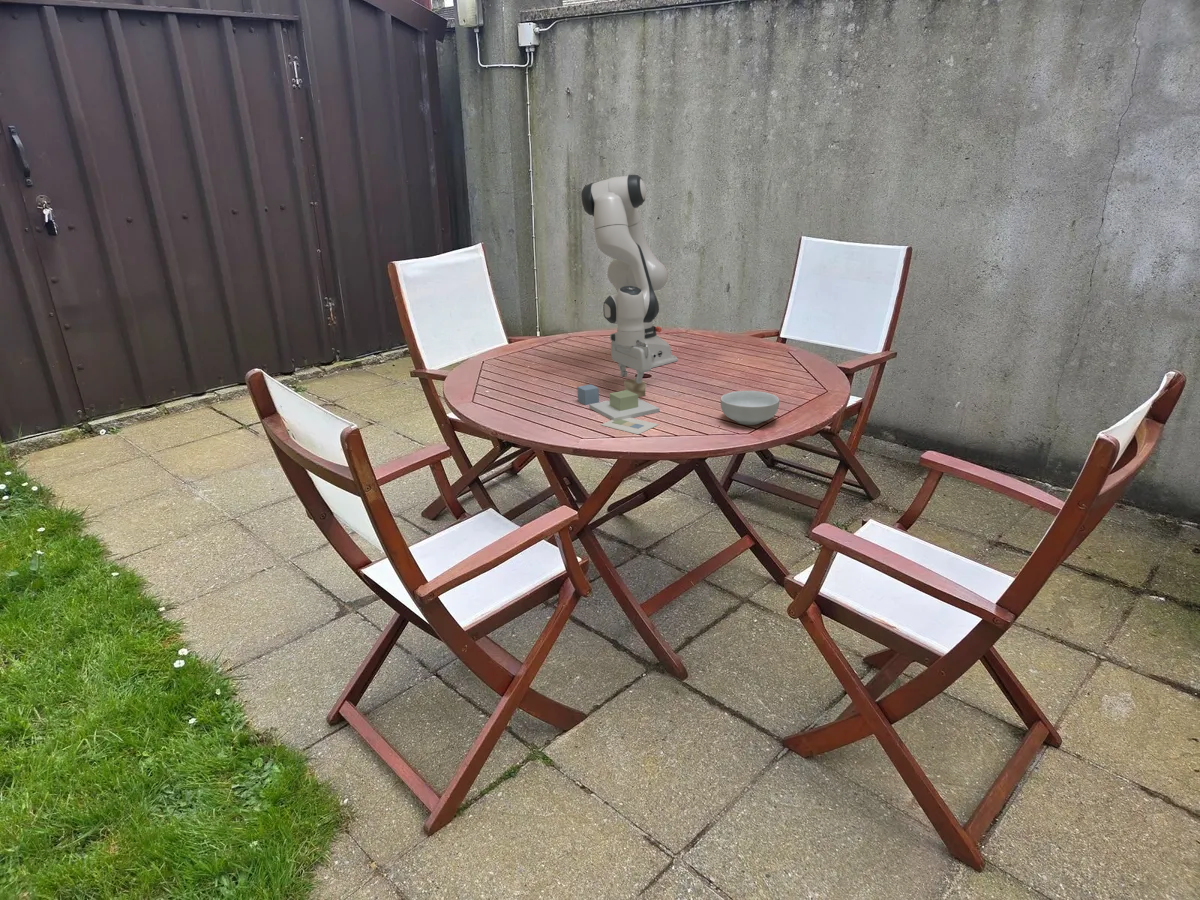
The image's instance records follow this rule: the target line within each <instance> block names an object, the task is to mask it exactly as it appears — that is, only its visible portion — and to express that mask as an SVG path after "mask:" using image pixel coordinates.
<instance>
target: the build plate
mask: <svg viewBox="0 0 1200 900" xmlns="http://www.w3.org/2000/svg"><path fill="white" fill-rule="evenodd" d="M608 398H609V400H604V401H599V402H598V403H594V404H589V405H588V407H589V409H590V410H593V411H594V412H596V413H598V414H599V415H601V416H603V417H605V418H607V419H608V420H614V421H617V420H623V419H627V418H634V419H635V418H639V417H643V416H647V415H652V414H656V413H660V407H659V406H655V405H653V404H651V403H649V402H648V401H645V400H643V399H640V398H639V397H638V395H637V394H635V393H633V392H631V391H628V390H625V389H624V390H620V391H614V392H611V393H609V397H608Z"/></svg>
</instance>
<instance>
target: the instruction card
mask: <svg viewBox="0 0 1200 900" xmlns="http://www.w3.org/2000/svg"><path fill="white" fill-rule="evenodd" d="M600 426H603V427H606V428H610V429H615V430H617V431H622V432H626V433H629V434H634V435H640V434H642V433H644V432H647V431H649V430H651V429H653V428H655V427H658V426H659V423H655V422H650V421H646V420H643V419H638V418H635V417H634V418H627V419H623V420H617V421H614V420H611V419H609V420H608V421H606V422H604V423H602V424H601V423H600Z"/></svg>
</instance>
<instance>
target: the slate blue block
mask: <svg viewBox="0 0 1200 900" xmlns="http://www.w3.org/2000/svg"><path fill="white" fill-rule="evenodd" d="M599 391H600V390H599V387H597V386H595V385H593V384H591V383H590V384H586V385H585V384H584V385H580V386H577V402H578V403H581V404H582V405H584V406H589V404H594V403H599V402H600V398H599V397H600V396H599V394H600V393H599Z"/></svg>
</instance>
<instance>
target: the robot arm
mask: <svg viewBox="0 0 1200 900" xmlns="http://www.w3.org/2000/svg"><path fill="white" fill-rule="evenodd" d="M646 195H647V189H646V184H645V182H644V181H643V178H642V177H641V176H640V175H638V174H628V175H623V176H621V175H620V176H614V177H609V178H607V179H602V180H600V181H596V182H595V183H593V182H591V183H588V184H586V185H585V186H583V188H582V189H581V197H580V200H581V205H582V208H583V209H584V211H585V213H586V214H588V215H589V216H593V217H592V218H593V229H594V236H595V237H594V238H595V242H596V245H597V248H598V249H599V250H600V251H601V253H603V254H604V255H606V256H607V257H610V258H612V259H614V260H612V261H611V262H610V263H609V265H608V266H607V267H608V268H607V278H608V280H609V282H610V283H611V284H612V286H614V288H615V291H616V292H617V293H614V294H611V295H608V296H607V297H606V299H605V301H604V302H603V309H602V310H603V311H602V312H603V317H604V319H605V320H606V321H607V322H609V323H611V324H614V325H615V324H616V325H617V329H616V332H613V333H610V334H609V339H610V341H611V342H610V355H611V359H612V361H613V362H615V363H618V368H619V371H620V376H621V377H622V378H627V377H628V371H627V368H629V369H632V370H634V371H635V373H636V376H635V378H634V379H635V382H636V383H638V384H639V383H642V381H643V377H644V375H645V373H648V372H651V370H652V368H653V369H654V368H656V367H661V366H663V365H668V364H672V363H675V362H678V360H679V359H678V357H677V356H676V355H674V354H672V349H671V345H670V344H669V343H668V342H667V341H665V340H664V339H663V338H662V337H660V336H659V335H657V334H658V333H661V332H662V330H663V328H662V327H660V326H658V325H657V326H654V325H653V321H654V319H656V318H657V316H658V314H659V312H660V304H659V301H658V298H657V295H656V293H655V291H659V290H661V289H663V288H664V287H665V286H666V283H667V281H668V271H667V268H666V265H665V264H663V263H662V262H660V260H659V259H658V258H657V257H656V256H655V254H654V253H653V251H652V250H651V248H650V246H649V245H648V244H649V243H648V242H647V240H646V236H645V232H644V229H643V225H642V221H641V220H642V219H641V216H640V215H641V214H640V212H639V208H640V206H642V205H643V204H644V203H645V201H646V197H647V196H646ZM626 367H627V368H626Z"/></svg>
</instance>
